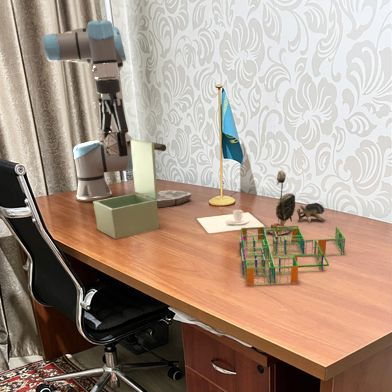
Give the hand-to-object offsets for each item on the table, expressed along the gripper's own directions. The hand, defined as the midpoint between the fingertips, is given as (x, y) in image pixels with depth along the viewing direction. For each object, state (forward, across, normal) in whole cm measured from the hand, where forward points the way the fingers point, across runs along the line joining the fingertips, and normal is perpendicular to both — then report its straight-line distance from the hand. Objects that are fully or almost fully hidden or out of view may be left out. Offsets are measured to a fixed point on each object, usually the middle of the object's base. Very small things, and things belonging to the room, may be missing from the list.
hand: (116, 154), depth 172 cm
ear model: (+26, +19, +32) cm, 45 cm away
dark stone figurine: (+26, +40, +38) cm, 60 cm away
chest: (+25, 0, 0) cm, 25 cm away
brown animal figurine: (+26, +38, +52) cm, 70 cm away
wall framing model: (+26, +63, +22) cm, 72 cm away
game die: (+1, 0, 0) cm, 1 cm away
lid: (+6, 0, +9) cm, 11 cm away
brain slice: (+26, -24, +30) cm, 46 cm away
